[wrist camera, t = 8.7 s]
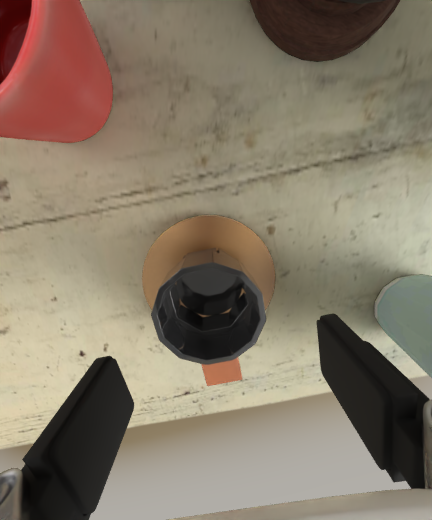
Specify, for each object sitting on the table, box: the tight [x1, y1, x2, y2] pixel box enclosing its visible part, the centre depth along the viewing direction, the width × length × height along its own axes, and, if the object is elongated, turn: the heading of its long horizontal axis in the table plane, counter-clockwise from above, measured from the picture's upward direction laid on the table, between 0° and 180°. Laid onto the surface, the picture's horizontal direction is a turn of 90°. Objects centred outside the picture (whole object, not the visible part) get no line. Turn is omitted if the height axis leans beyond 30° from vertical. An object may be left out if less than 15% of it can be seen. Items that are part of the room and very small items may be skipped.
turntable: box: [142, 215, 275, 317], centre depth 20 cm, size 12×12×1 cm
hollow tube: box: [151, 248, 266, 386], centre depth 17 cm, size 9×7×6 cm
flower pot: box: [0, 0, 113, 143], centre depth 11 cm, size 11×11×10 cm
